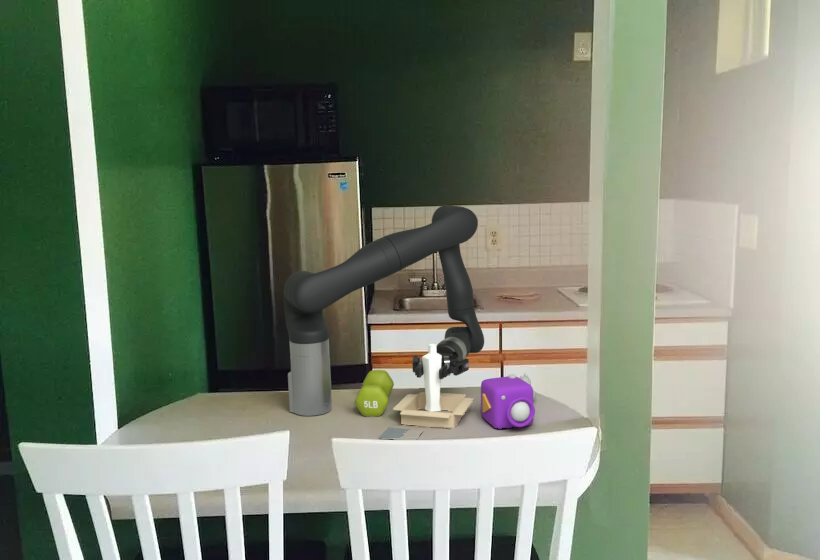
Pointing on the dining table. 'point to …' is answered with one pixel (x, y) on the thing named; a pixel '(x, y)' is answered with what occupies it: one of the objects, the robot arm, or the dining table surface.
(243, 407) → the dining table surface
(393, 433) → the mat
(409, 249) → the robot arm
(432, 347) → the white vase
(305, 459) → the dining table surface
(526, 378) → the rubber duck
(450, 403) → the carton
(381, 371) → the dumbbell
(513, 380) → the toy camera
